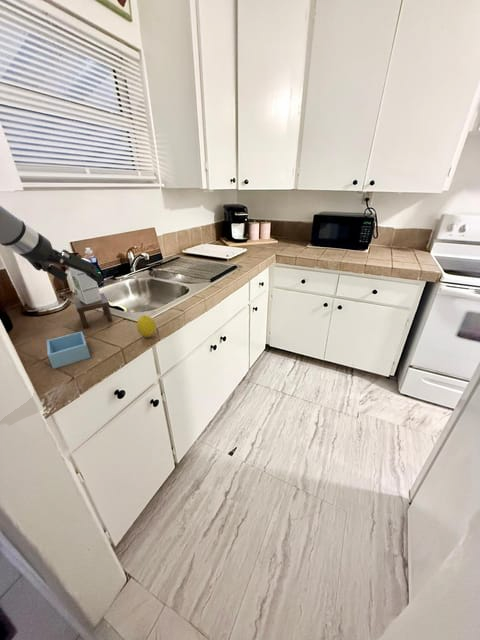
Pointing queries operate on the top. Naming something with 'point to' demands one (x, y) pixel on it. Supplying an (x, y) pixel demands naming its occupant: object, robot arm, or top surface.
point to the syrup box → (85, 286)
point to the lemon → (146, 326)
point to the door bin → (67, 349)
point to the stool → (86, 307)
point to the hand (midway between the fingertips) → (83, 278)
